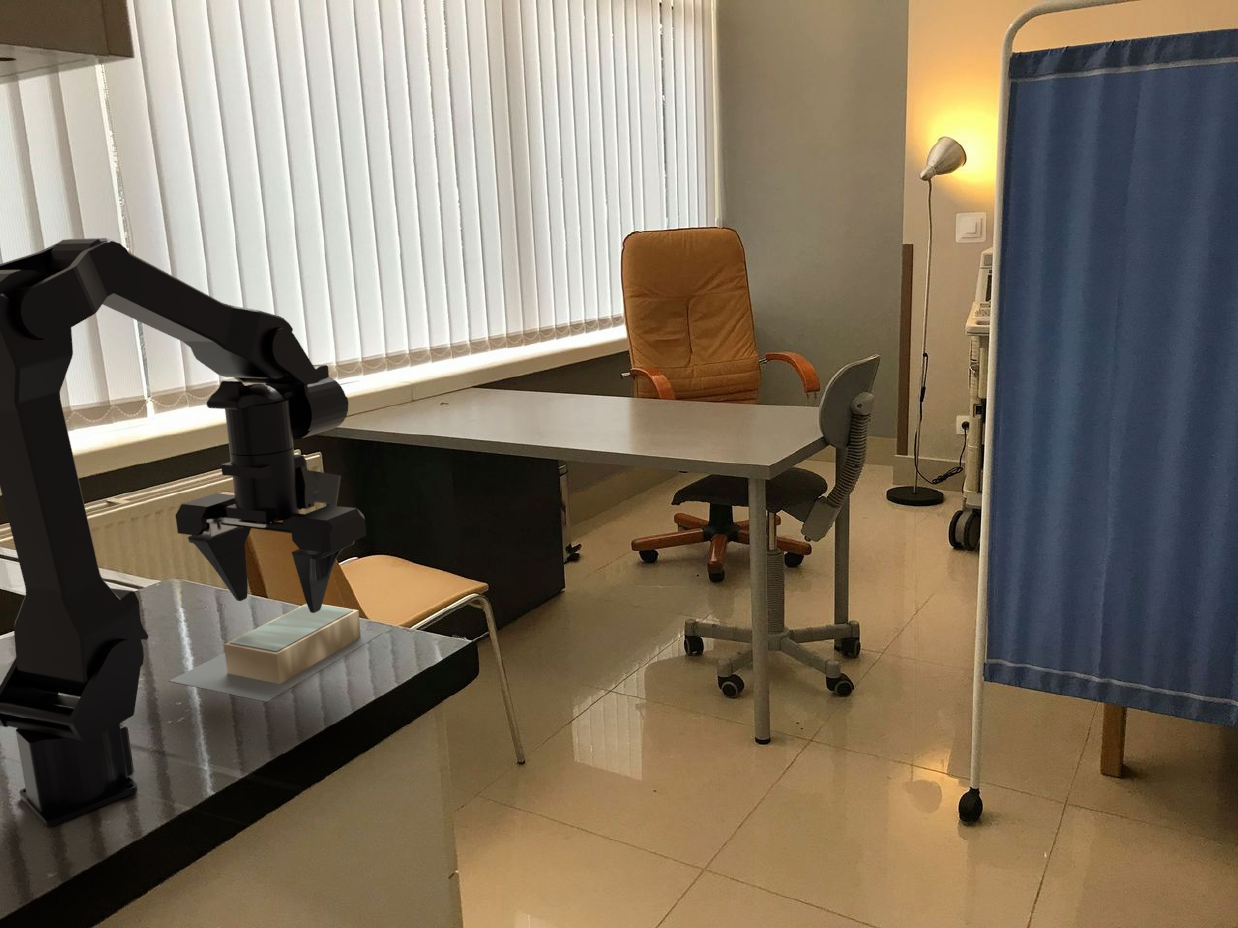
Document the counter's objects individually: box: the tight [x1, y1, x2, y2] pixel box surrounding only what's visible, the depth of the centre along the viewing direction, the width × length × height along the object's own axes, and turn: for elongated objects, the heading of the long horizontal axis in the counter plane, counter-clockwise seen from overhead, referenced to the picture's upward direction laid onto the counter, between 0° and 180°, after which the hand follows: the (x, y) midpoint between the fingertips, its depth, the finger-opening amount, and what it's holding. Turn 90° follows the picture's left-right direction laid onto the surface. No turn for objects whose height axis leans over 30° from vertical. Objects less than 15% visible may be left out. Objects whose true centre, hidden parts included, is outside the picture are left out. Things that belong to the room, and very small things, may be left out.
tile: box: [223, 603, 361, 684], centre depth 100 cm, size 3×6×12 cm
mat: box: [169, 629, 383, 703], centre depth 100 cm, size 17×12×1 cm
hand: (278, 605), depth 98 cm, fingers open, 9 cm apart
